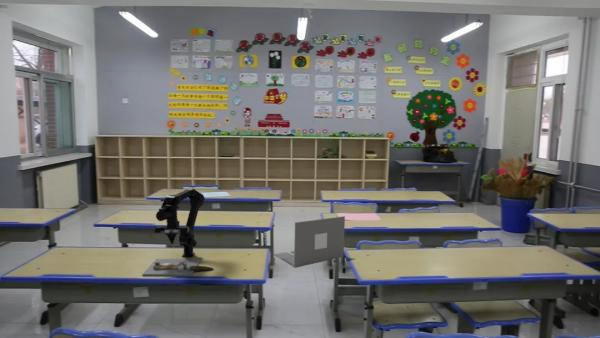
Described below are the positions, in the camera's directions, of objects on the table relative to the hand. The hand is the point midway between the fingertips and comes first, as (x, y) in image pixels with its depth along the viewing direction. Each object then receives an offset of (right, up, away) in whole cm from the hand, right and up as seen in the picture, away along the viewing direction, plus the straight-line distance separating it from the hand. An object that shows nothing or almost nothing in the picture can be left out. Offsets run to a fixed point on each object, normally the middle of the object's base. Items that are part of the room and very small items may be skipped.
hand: (172, 243), depth 240 cm
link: (+1, -12, -8) cm, 14 cm away
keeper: (+8, -12, -10) cm, 18 cm away
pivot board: (+2, -13, -5) cm, 14 cm away
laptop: (+79, -12, +18) cm, 82 cm away
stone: (+22, -14, -12) cm, 29 cm away
